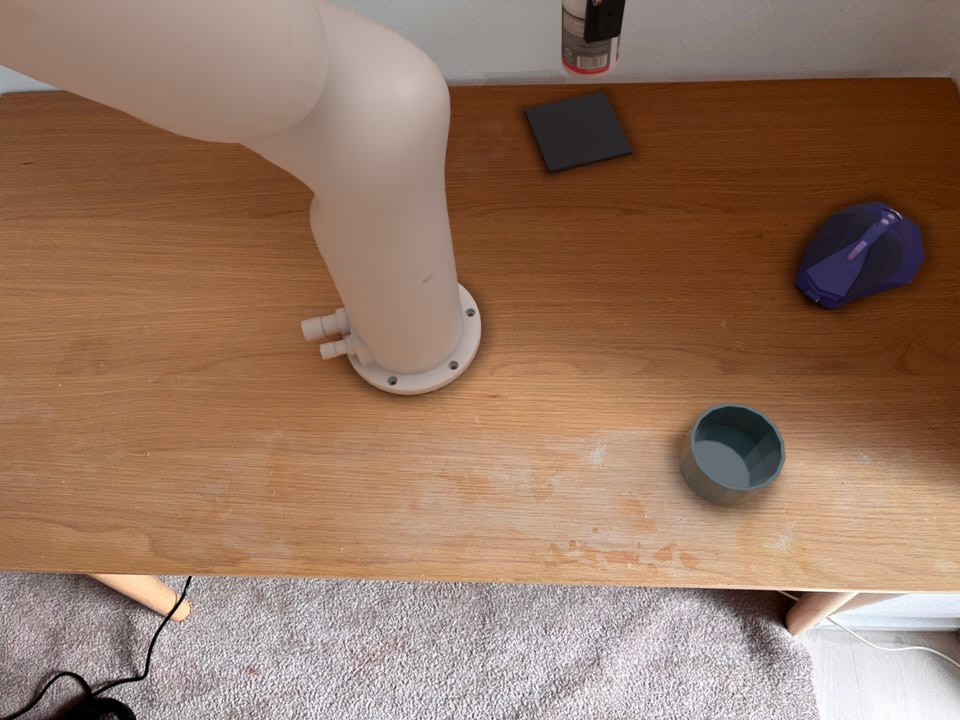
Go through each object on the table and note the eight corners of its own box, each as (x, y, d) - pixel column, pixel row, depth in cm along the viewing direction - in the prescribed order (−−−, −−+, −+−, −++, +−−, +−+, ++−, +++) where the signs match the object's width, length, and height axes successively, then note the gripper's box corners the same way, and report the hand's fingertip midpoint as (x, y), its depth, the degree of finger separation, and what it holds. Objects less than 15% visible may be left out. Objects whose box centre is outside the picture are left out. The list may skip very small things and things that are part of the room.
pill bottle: (581, 36, 67) (586, -66, 58) (629, 55, 65) (641, -47, 56) (549, 69, 65) (549, -31, 56) (597, 90, 63) (604, -10, 55)
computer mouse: (947, 244, 65) (972, 217, 61) (853, 340, 61) (874, 318, 57) (861, 188, 68) (880, 160, 64) (767, 277, 64) (782, 252, 60)
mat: (549, 173, 71) (549, 170, 70) (524, 112, 75) (524, 109, 74) (632, 153, 71) (632, 151, 71) (603, 93, 75) (604, 91, 75)
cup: (698, 515, 55) (712, 501, 51) (665, 435, 58) (676, 415, 54) (780, 493, 55) (801, 476, 51) (744, 414, 58) (760, 393, 54)
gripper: (522, -284, 48) (522, -36, 64) (603, -152, 40) (579, 91, 57) (625, -304, 48) (598, -52, 65) (724, -177, 41) (666, 71, 57)
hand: (590, 13), depth 60 cm, fingers closed on pill bottle, 5 cm apart
